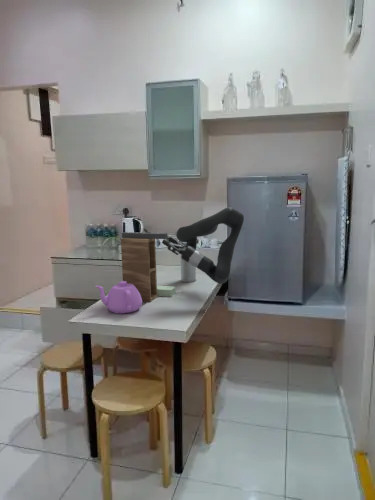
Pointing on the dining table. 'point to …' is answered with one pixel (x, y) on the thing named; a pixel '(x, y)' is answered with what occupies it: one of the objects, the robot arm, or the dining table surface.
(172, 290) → the green block
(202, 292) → the dining table surface
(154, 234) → the domino bar
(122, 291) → the teapot
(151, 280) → the shelf tower
